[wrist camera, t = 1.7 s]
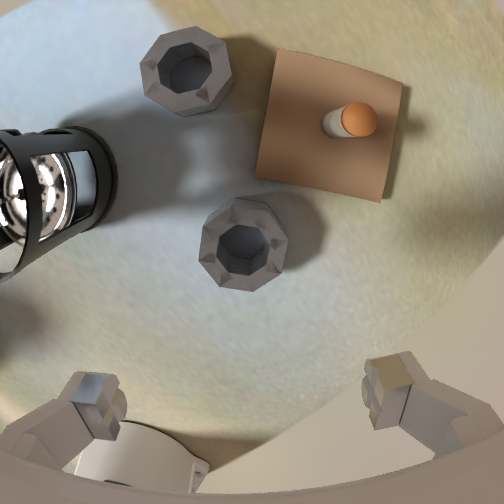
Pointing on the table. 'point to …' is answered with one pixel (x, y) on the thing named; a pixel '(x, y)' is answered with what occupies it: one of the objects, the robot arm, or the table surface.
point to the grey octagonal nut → (239, 269)
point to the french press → (49, 189)
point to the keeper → (328, 126)
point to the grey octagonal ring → (166, 58)
